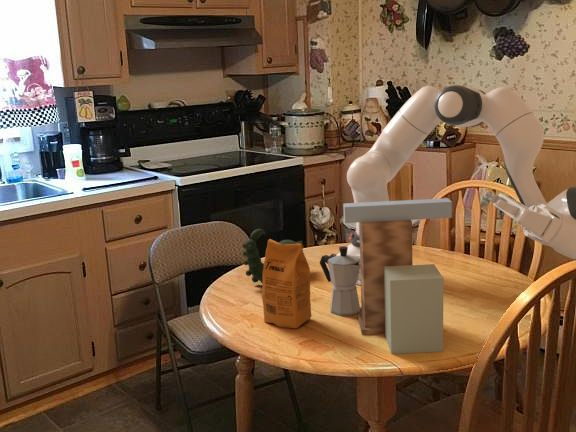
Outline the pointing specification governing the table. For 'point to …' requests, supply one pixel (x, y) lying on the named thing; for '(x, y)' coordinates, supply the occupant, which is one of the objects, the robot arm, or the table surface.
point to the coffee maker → (342, 281)
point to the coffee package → (286, 285)
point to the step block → (413, 308)
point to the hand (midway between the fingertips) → (491, 198)
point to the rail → (397, 210)
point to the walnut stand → (380, 266)
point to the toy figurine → (254, 258)
